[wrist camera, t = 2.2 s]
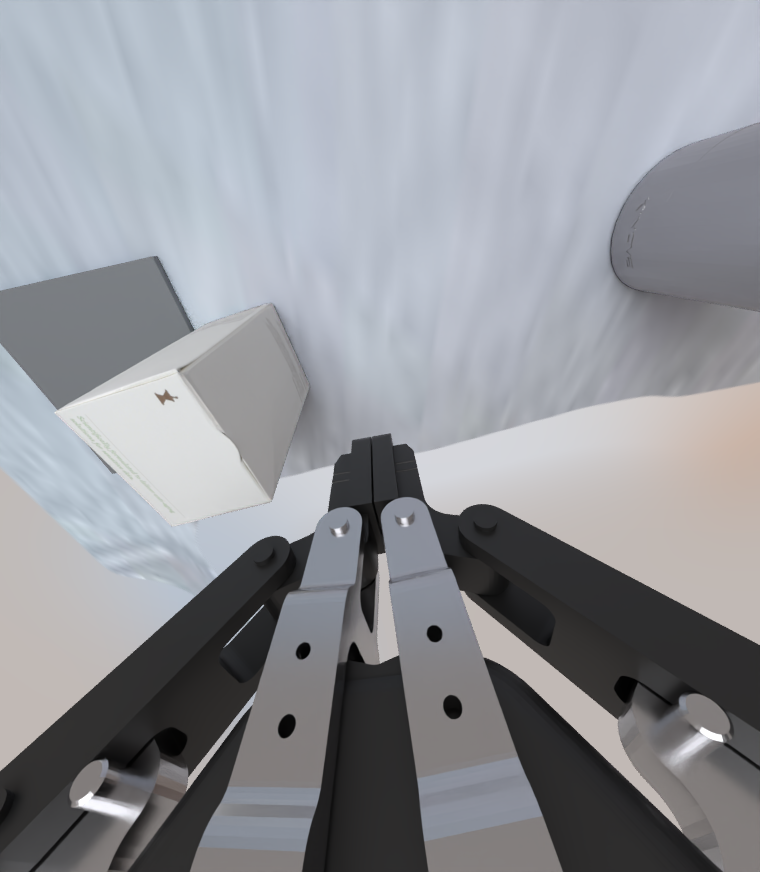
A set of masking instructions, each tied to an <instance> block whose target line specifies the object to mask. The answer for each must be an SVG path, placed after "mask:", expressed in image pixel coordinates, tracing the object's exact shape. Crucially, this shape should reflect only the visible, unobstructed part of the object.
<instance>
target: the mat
mask: <svg viewBox="0 0 760 872" xmlns="http://www.w3.org/2000/svg"><path fill="white" fill-rule="evenodd" d="M193 331H194V329H193V327H192V325H191V323H190V321H189V319H188V317H187V315H186V313H185V311H184V309H183V307H182V305H181V303H180V301H179V299H178V297H177V295H176V293H175V291H174V289H173V287H172V285H171V283H170V281H169V279H168V277H167V275H166V273H165V271H164V269H163V267H162V265H161V263H160V261H159V259H158V257H157V256H154V257H148V258H144V259H139V260H135V261H130V262H126V263H122V264H117V265H113V266H108V267H104V268H99V269H95V270H91V271H86V272H82V273H77V274H73V275H68V276H64V277H60V278H55V279H51V280H46V281H42V282H37V283H33V284H29V285H24V286H20V287H15V288H11V289H6V290H2V291H0V343H1V344H2V346H3V347H4V348H5V349H6V350H7V351H8V353H9V354H10V355H11V356H12V357H13V358H14V360H15V361H16V362H17V363H18V364H19V365H20V367H21V368H22V369H23V370H24V371H25V372H26V374H27V375H28V376H29V377H30V378H31V379H32V381H33V382H34V383H35V384H36V385H37V386H38V388H39V389H40V390H41V391H42V392H43V393H44V395H45V396H46V397H47V398H48V399H49V400H50V402H51V403H52V404H53V405H54V406H55V407H56V409H57V410H59V409H60V408H62V407H64V406H65V405H67V404H68V403H70V402H72V401H74V400H76V399H77V398H79V397H81V396H82V395H84V394H86V393H88V392H90V391H91V390H93V389H94V388H96V387H98V386H100V385H101V384H103V383H105V382H107V381H108V380H110V379H112V378H113V377H115V376H117V375H119V374H120V373H122V372H124V371H126V370H127V369H129V368H131V367H132V366H134V365H136V364H138V363H139V362H141V361H143V360H144V359H146V358H148V357H150V356H151V355H153V354H155V353H156V352H158V351H160V350H162V349H163V348H165V347H167V346H168V345H170V344H172V343H174V342H175V341H177V340H179V339H181V338H183V337H184V336H186V335H188V334H190V333H191V332H193ZM86 444H87V443H86ZM87 445H88V444H87ZM88 446H89V445H88ZM89 447H90V446H89ZM90 448H91V447H90ZM91 449H92V448H91ZM92 451H93V452H94V453H95V454H96V455H97V456H98V458H99V459H100V460H101V461H102V462H103V463H104V465H105V466H106V467H107V468H108V469H109V470H110V472H111V473H112V474H113V473H117V472H116V471H115V470H114V469H113V468H112V467H110V466H109V465H108V464H107V463H106V462H105V461H104V460H103V459H102V458H101V457H100V456H99V455H98V454H97V453H96V452H95V451H94V450H93V449H92Z"/></svg>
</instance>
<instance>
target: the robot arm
mask: <svg viewBox="0 0 760 872" xmlns="http://www.w3.org/2000/svg"><path fill="white" fill-rule="evenodd" d="M611 256H612V264H613V267H614V270H615V272H616V275H617V276H618V277H619V278H620V280H621V281H622V282H623V283H624V284H626V285H627V286H629V287H630V288H633V289H637V290H640V291H646V292H651V293H657V294H663V295H668V296H674V297H679V298H684V299H689V300H695V301H701V302H707V303H712V304H718V305H724V306H730V307H735V308H741V309H747V310H753V311H758V312H760V123H756V124H753V125H750V126H746V127H743V128H740V129H737V130H733V131H730V132H727V133H724V134H721V135H717V136H714V137H711V138H708V139H704V140H701V141H698V142H695V143H692V144H690V145H687V146H685V147H683V148H681V149H678V150H676V151H675V152H673V153H672V154H671V155H669V156H668V157H666V158H665V159H663V160H662V161H660V162H659V163H658V164H657V165H656V166H655V167H654V168H653V169H652V170H651V171H650V172H648V173H647V174H646V176H645V177H644V178H643V179H642V180H641V182H640V183H639V184H638V185H637V186H636V188H635V189H634V190H633V192H632V193H631V195H630V197H629V198H628V200H627V201H626V203H625V205H624V207H623V209H622V211H621V213H620V215H619V218H618V220H617V223H616V226H615V230H614V233H613V237H612V246H611ZM332 483H333V484H332V487H331V494H330V501H329V508H328V513H327V514H325V515H324V516H323V517H322V518H321V519H320V520H319V522H318V524H317V527H316V530H315V532H314V533H312V534H311V535H309V536H307V537H304V538H302V539H300V540H298V541H295V542H293V543H291V544H289V543H288V541H287V540H286V539H285V538H283V537H280V536H271V537H267V538H264V539H262V540H260V541H258V542H257V543H255V544H254V545H252V546H251V547H250V548H249V549H248V550H247V551H246V552H245V553H243V554H242V555H241V556H240V557H239V558H238V559H237V560H236V561H235V562H233V563H232V564H231V565H230V566H229V567H228V568H227V569H226V570H225V571H223V572H222V573H221V574H220V575H219V576H218V577H217V578H216V579H214V580H213V581H212V582H211V583H210V584H209V585H208V586H207V587H205V588H204V589H203V590H202V591H201V592H200V593H199V594H198V595H197V596H195V597H194V598H193V599H192V600H191V601H190V602H189V603H188V604H187V605H185V606H184V607H183V608H182V609H181V610H180V611H179V612H178V613H176V614H175V615H174V616H173V617H172V618H171V619H170V620H169V621H168V622H166V623H165V624H164V625H163V626H162V627H161V628H160V629H159V630H158V631H156V632H155V633H154V634H153V635H152V636H151V637H150V638H149V639H148V640H146V641H145V642H144V643H143V644H142V645H141V646H140V647H139V648H137V649H136V650H135V651H134V652H133V653H132V654H131V655H130V656H128V657H127V658H126V659H125V660H124V661H123V662H122V663H121V664H120V665H119V666H117V667H116V668H115V669H114V670H113V671H112V672H111V673H110V674H108V675H107V676H106V677H105V678H104V679H103V680H102V681H101V682H99V684H98V685H96V686H95V687H94V688H93V689H92V690H91V691H90V692H88V693H87V694H86V695H85V696H84V697H83V698H82V699H81V700H80V701H78V702H77V703H76V704H75V705H74V706H73V707H72V708H70V709H69V710H68V711H67V712H66V713H65V714H64V715H63V716H62V717H61V718H59V719H58V720H57V721H56V722H55V723H54V724H53V725H52V726H50V727H49V728H48V729H47V730H46V731H45V732H44V733H43V734H41V735H40V736H39V737H38V738H37V739H36V740H35V741H34V742H33V743H31V744H30V745H29V746H28V747H27V748H26V749H25V750H24V751H22V752H21V753H20V754H19V755H18V756H17V757H16V758H15V759H14V760H12V761H11V762H10V763H9V764H8V765H7V766H6V767H5V768H4V769H2V770H1V771H0V872H760V645H758V644H756V643H755V642H753V641H751V640H749V639H747V638H745V637H743V636H741V635H739V634H737V633H736V632H733V631H732V630H730V629H728V628H726V627H724V626H722V625H720V624H718V623H716V622H715V621H713V620H711V619H709V618H707V617H705V616H703V615H701V614H699V613H698V612H696V611H694V610H692V609H690V608H688V607H686V606H684V605H682V604H680V603H679V602H677V601H674V600H673V599H671V598H669V597H667V596H665V595H663V594H661V593H660V592H658V591H656V590H654V589H652V588H650V587H648V586H646V585H644V584H642V583H641V582H639V581H637V580H635V579H633V578H631V577H629V576H627V575H625V574H623V573H621V572H620V571H618V570H615V569H614V568H612V567H610V566H608V565H606V564H604V563H603V562H601V561H599V560H597V559H595V558H593V557H591V556H589V555H587V554H585V553H583V552H582V551H580V550H578V549H576V548H574V547H572V546H570V545H568V544H566V543H565V542H563V541H561V540H559V539H557V538H555V537H553V536H551V535H549V534H547V533H546V532H544V531H541V530H540V529H538V528H536V527H534V526H532V525H530V524H529V523H527V522H525V521H523V520H521V519H519V518H517V517H515V516H513V515H511V514H509V513H508V512H506V511H504V510H502V509H500V508H497V507H495V506H492V505H486V504H478V505H473V506H471V507H468V508H466V509H465V510H464V511H463V512H462V513H461V514H460V516H459V515H450V514H443V513H440V512H438V511H435V510H434V509H432V508H431V507H430V506H429V505H428V504H427V503H426V501H425V499H424V495H423V491H422V486H421V482H420V477H419V473H418V469H417V464H416V460H415V456H414V451H413V450H412V449H411V448H410V447H409V446H408V445H407V444H402V445H396V446H393V443H392V438H391V434H385V435H379V436H373V437H372V438H371V437H368V438H362V439H357V440H353V441H352V451H351V453H350V454H345V455H341V456H340V458H339V459H338V460H337V462H336V463H335V466H334V476H333V480H332ZM385 549H386V552H385ZM382 553H386V555H387V562H388V569H389V575H390V580H389V588H390V596H391V603H392V609H393V616H394V623H395V630H396V637H397V644H398V651H399V656H397V657H394V658H392V659H390V660H388V661H385V662H383V663H381V664H380V663H379V653H378V645H377V625H378V600H379V599H378V598H379V572H378V554H382ZM460 590H461V591H465V593H466V594H467V596H468V597H469V598H470V599H471V600H472V601H474V602H475V603H476V604H477V605H478V606H480V607H481V608H482V609H483V610H485V611H486V612H487V613H488V614H490V615H491V616H492V617H493V618H495V619H496V620H497V621H498V622H499V623H500V624H502V625H503V626H504V627H505V628H507V629H508V630H509V631H510V632H511V633H513V634H514V635H515V636H516V637H518V638H519V639H520V640H521V641H522V642H524V643H525V644H526V645H527V646H529V647H530V648H531V649H533V651H535V652H536V653H537V654H538V655H540V656H541V657H542V658H543V659H544V660H546V661H547V662H548V663H550V664H551V665H552V666H553V667H554V668H555V669H557V670H558V671H559V672H560V673H562V674H563V675H564V676H565V677H566V678H568V679H569V680H570V681H571V682H572V683H574V684H575V685H576V686H577V687H579V688H580V689H581V690H582V691H584V692H585V693H586V694H587V695H589V696H590V697H591V698H592V699H593V700H595V701H596V702H597V703H598V704H599V705H601V706H602V707H603V708H604V709H605V710H607V711H608V712H609V713H610V714H612V715H613V716H614V717H615V718H617V719H618V729H619V735H620V739H621V742H622V745H623V747H624V750H625V752H626V754H627V756H628V757H629V759H630V761H631V762H632V764H633V765H634V767H635V768H636V770H637V771H638V772H639V773H640V775H641V776H642V777H643V778H644V779H645V780H646V781H647V782H648V783H649V784H650V785H651V787H652V788H653V789H654V790H655V791H656V792H657V793H658V794H659V795H660V796H661V798H662V799H663V800H664V802H665V803H666V804H667V805H668V807H669V808H670V810H671V811H672V813H673V814H674V816H675V818H676V820H677V821H678V823H679V825H680V827H681V829H682V831H683V833H682V832H681V831H680V830H679V829H678V828H677V827H676V826H675V825H674V824H673V823H672V822H671V821H669V819H668V818H666V817H665V816H664V815H663V814H662V813H661V812H660V811H659V810H658V809H657V808H656V807H655V806H654V805H653V804H652V803H651V802H649V800H648V799H647V798H646V797H645V796H643V795H642V794H641V793H640V792H639V791H638V790H637V789H636V788H635V787H634V786H633V785H632V784H631V783H630V782H629V781H628V780H627V779H626V778H625V777H624V776H623V775H622V774H621V773H619V771H617V770H616V769H615V768H614V767H613V766H612V765H611V764H610V763H609V762H608V761H607V760H606V759H605V758H604V757H603V756H602V755H601V754H600V753H599V752H598V751H597V750H596V749H595V748H594V747H593V746H591V745H590V744H589V743H588V742H587V741H586V740H585V739H584V738H583V737H582V736H581V735H580V734H579V733H578V732H577V731H576V730H575V729H574V728H573V727H572V726H571V725H570V724H569V723H568V722H567V721H565V720H564V719H563V718H562V717H561V716H560V715H559V714H558V713H557V712H556V711H555V710H554V709H553V708H552V707H551V706H550V705H549V704H548V703H547V702H546V701H545V700H544V699H543V698H542V697H541V696H539V695H538V694H537V693H536V692H535V691H534V690H533V689H532V688H531V687H530V686H529V685H528V684H527V683H526V682H524V681H523V680H522V679H521V678H519V677H518V676H517V675H516V674H514V673H513V672H511V671H510V670H508V669H507V668H505V667H503V666H502V665H500V664H498V663H496V662H494V661H492V660H489V659H487V658H483V656H482V653H481V650H480V647H479V644H478V641H477V639H476V636H475V633H474V630H473V627H472V624H471V621H470V619H469V616H468V613H467V610H466V607H465V604H464V602H463V599H462V596H461V593H460ZM263 604H264V607H263V608H262V609H261V610H260V611H259V612H258V613H257V614H256V615H255V616H254V617H253V618H252V619H251V621H250V622H249V623H248V624H247V625H246V626H245V627H244V628H243V629H242V630H241V631H240V633H238V635H237V636H236V637H235V638H234V639H233V640H232V641H231V642H230V643H229V644H228V645H227V646H226V647H224V646H225V645H226V644H227V643H228V642H229V641H230V639H231V638H232V637H233V636H234V635H235V634H236V633H237V632H238V631H239V630H240V629H241V628H242V627H243V626H244V625H245V623H246V622H247V621H248V620H249V619H250V618H251V617H252V616H253V615H254V614H255V613H256V612H257V611H258V609H259V608H260V607H261V606H262V605H263ZM256 691H257V693H256V696H255V699H254V702H253V705H252V706H251V707H250V709H248V711H247V712H246V713H245V714H244V715H243V717H242V718H241V719H240V720H239V722H238V723H237V724H236V726H235V727H234V729H233V730H232V731H231V732H230V734H229V735H228V736H227V738H226V739H225V740H224V742H223V743H222V745H221V746H220V747H219V749H218V750H217V751H216V753H215V754H214V755H213V757H212V758H211V759H210V761H209V762H208V763H207V765H206V766H205V767H204V769H203V770H202V771H201V773H200V774H199V776H198V777H197V778H196V780H195V781H194V782H193V784H192V785H191V786H190V788H189V789H188V790H187V792H186V788H187V783H188V777H189V776H190V774H191V773H192V772H193V771H194V769H195V768H196V766H197V765H198V764H199V763H200V762H201V760H202V759H203V758H204V757H205V755H206V754H207V753H208V752H209V750H210V749H211V748H212V746H213V745H214V744H215V743H216V741H217V740H218V739H219V738H220V736H221V735H222V734H223V733H224V731H225V730H226V729H227V727H228V726H229V725H230V724H231V722H232V721H233V720H234V718H235V717H236V716H237V715H238V714H239V712H240V711H241V710H242V708H243V707H244V706H245V705H246V703H247V702H248V701H249V700H250V698H251V697H252V696H253V694H254V693H255V692H256Z"/></svg>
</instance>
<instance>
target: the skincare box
mask: <svg viewBox="0 0 760 872" xmlns="http://www.w3.org/2000/svg"><path fill="white" fill-rule="evenodd" d="M309 387H310V385H309V382H308V380H307V378H306V376H305V373H304V371H303V369H302V367H301V365H300V362H299V360H298V358H297V356H296V354H295V351H294V349H293V347H292V345H291V343H290V340H289V338H288V336H287V334H286V332H285V329H284V327H283V325H282V323H281V321H280V319H279V316H278V314H277V312H276V310H275V308H274V306H273V304H271V303H267V304H264V305H260V306H257V307H254V308H251V309H248V310H245V311H242V312H239V313H235V314H233V315H230V316H227V317H224V318H221V319H218V320H215V321H212V322H209V323H207V324H205V325H203V326H201V327H200V328H198V329H196V330H195V331H193V332H191V333H190V334H188V335H186V336H184V337H183V338H181V339H179V340H177V341H175V342H174V343H172V344H170V345H168V346H167V347H165V348H163V349H162V350H160V351H158V352H156V353H155V354H153V355H151V356H150V357H148V358H146V359H144V360H143V361H141V362H139V363H138V364H136V365H134V366H132V367H131V368H129V369H127V370H126V371H124V372H122V373H120V374H119V375H117V376H115V377H113V378H112V379H110V380H108V381H107V382H105V383H103V384H101V385H100V386H98V387H96V388H94V389H93V390H91V391H90V392H88V393H86V394H84V395H82V396H81V397H79V398H77V399H76V400H74V401H72V402H70V403H68V404H67V405H65V406H64V407H62V408H60V409H59V410H57V411H55V414H56V415H57V416H58V417H59V418H60V419H61V420H62V421H63V422H65V423H66V424H67V425H68V426H69V427H70V428H71V429H72V430H73V431H74V432H75V433H76V434H77V435H78V436H79V437H80V438H81V439H82V440H83V441H85V442H86V443H87V444H88V445H89V446H90V447H91V448H92V449H93V450H94V451H95V452H96V453H97V454H98V455H99V456H100V457H101V458H102V459H103V460H104V461H105V462H106V463H107V464H108V465H109V466H110V467H112V468H113V469H114V470H115V471H116V472H117V473H118V474H119V475H120V476H121V477H122V478H123V479H124V480H125V481H126V482H127V483H128V484H129V485H130V486H131V487H132V488H133V489H134V490H135V491H136V492H137V493H138V494H139V495H140V496H141V497H142V498H143V499H144V500H146V501H147V502H148V503H149V504H150V505H151V506H152V507H153V508H154V509H155V510H156V511H157V512H158V513H159V514H160V515H161V516H162V517H163V518H164V519H165V520H166V521H167V522H168V523H169V524H170V525H171V526H178V525H182V524H186V523H190V522H194V521H198V520H201V519H204V518H209V517H213V516H217V515H221V514H225V513H229V512H233V511H237V510H241V509H245V508H249V507H253V506H258V505H261V504H266V503H270V502H272V499H273V496H274V493H275V490H276V487H277V484H278V481H279V478H280V475H281V472H282V469H283V466H284V463H285V460H286V456H287V453H288V450H289V447H290V444H291V441H292V438H293V435H294V432H295V429H296V426H297V423H298V420H299V417H300V414H301V411H302V408H303V405H304V402H305V399H306V396H307V393H308V390H309Z"/></svg>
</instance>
